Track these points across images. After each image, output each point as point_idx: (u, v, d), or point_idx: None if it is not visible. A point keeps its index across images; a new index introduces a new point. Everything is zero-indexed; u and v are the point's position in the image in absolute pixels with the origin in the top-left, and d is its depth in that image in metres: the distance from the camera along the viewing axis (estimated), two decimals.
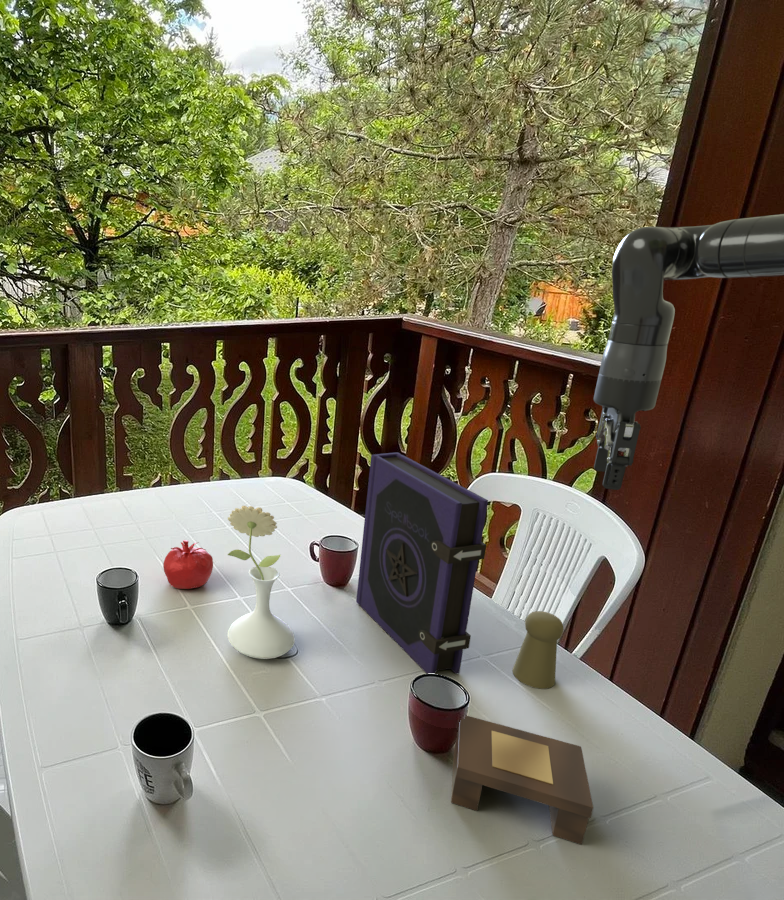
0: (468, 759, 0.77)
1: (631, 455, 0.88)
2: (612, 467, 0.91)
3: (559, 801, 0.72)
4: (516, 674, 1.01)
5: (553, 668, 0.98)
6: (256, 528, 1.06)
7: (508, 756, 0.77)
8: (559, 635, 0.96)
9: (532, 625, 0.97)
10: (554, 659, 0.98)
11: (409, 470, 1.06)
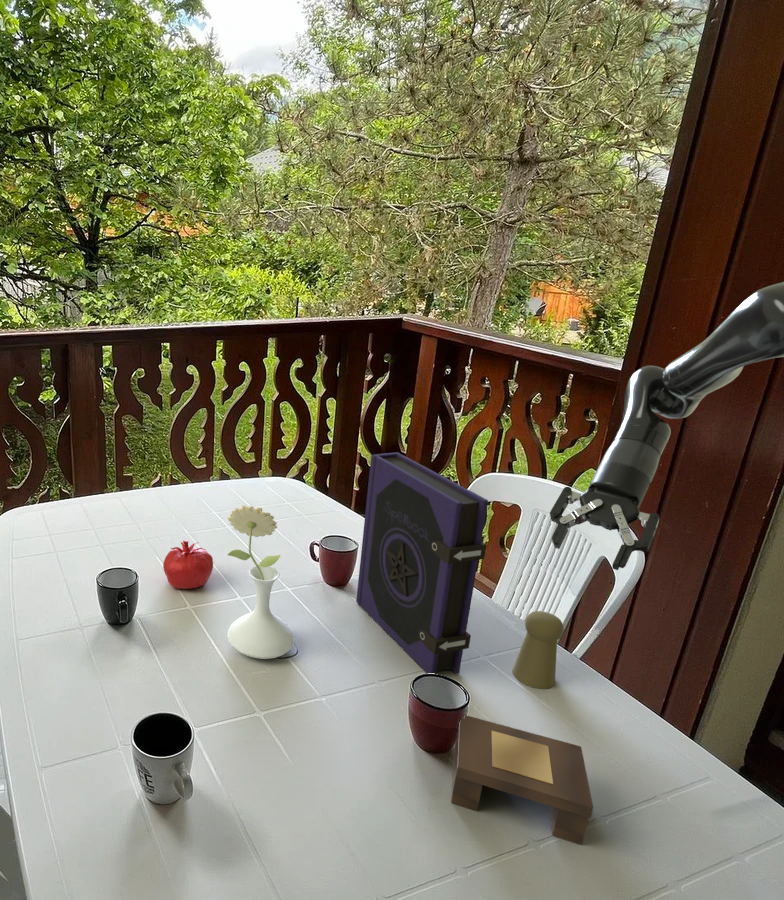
0: (468, 759, 0.77)
1: None
2: None
3: (559, 801, 0.72)
4: (516, 674, 1.01)
5: (553, 668, 0.98)
6: (256, 528, 1.06)
7: (508, 756, 0.77)
8: (559, 635, 0.96)
9: (533, 625, 0.97)
10: (554, 659, 0.98)
11: (409, 470, 1.06)
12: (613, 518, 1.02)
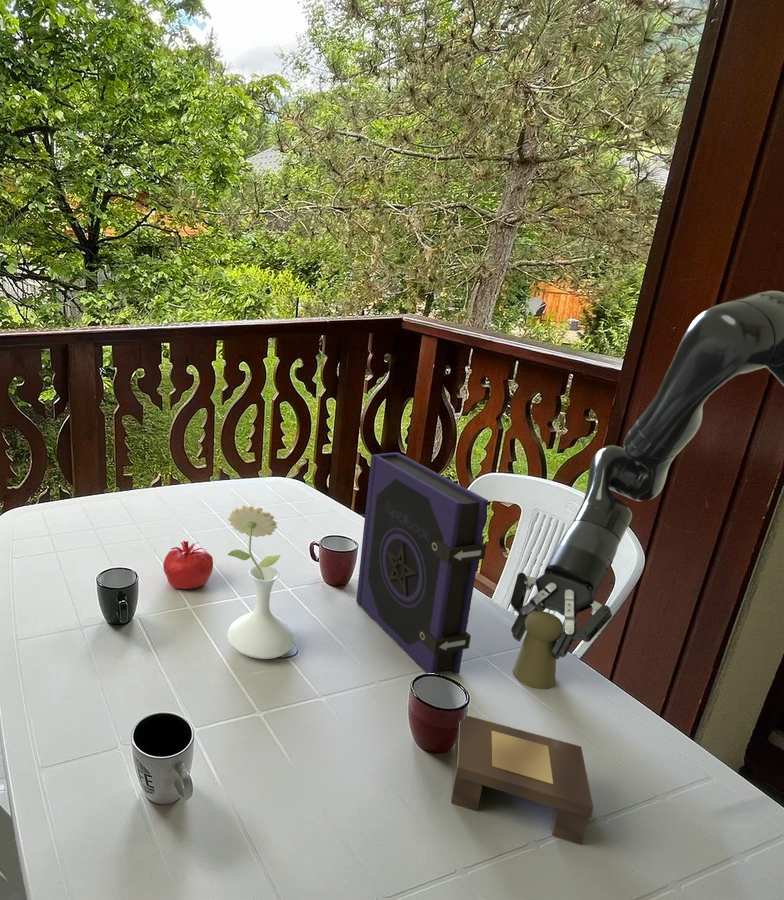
0: (468, 759, 0.77)
1: (512, 597, 1.03)
2: None
3: (559, 801, 0.72)
4: (516, 674, 1.01)
5: (553, 668, 0.98)
6: (256, 528, 1.06)
7: (508, 756, 0.77)
8: (559, 635, 0.96)
9: (532, 625, 0.97)
10: (554, 659, 0.98)
11: (409, 470, 1.06)
12: (564, 603, 0.98)
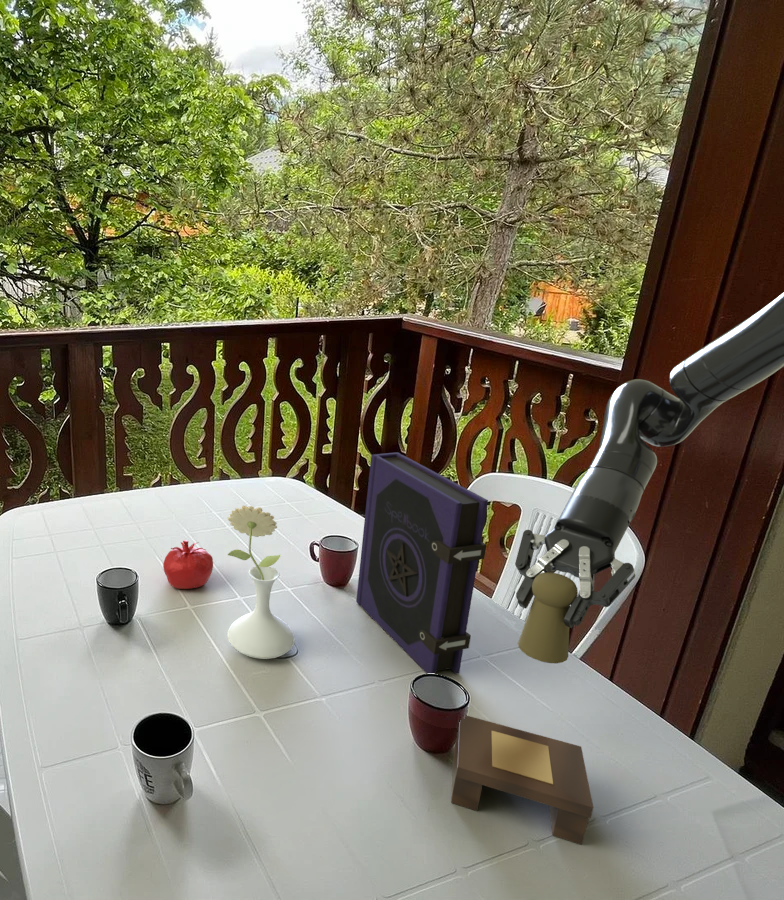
0: (468, 759, 0.77)
1: (517, 557, 0.89)
2: None
3: (559, 801, 0.72)
4: (522, 647, 0.86)
5: (566, 639, 0.83)
6: (256, 528, 1.06)
7: (508, 756, 0.77)
8: (572, 599, 0.81)
9: (541, 587, 0.83)
10: (567, 628, 0.83)
11: (409, 470, 1.06)
12: (578, 562, 0.84)
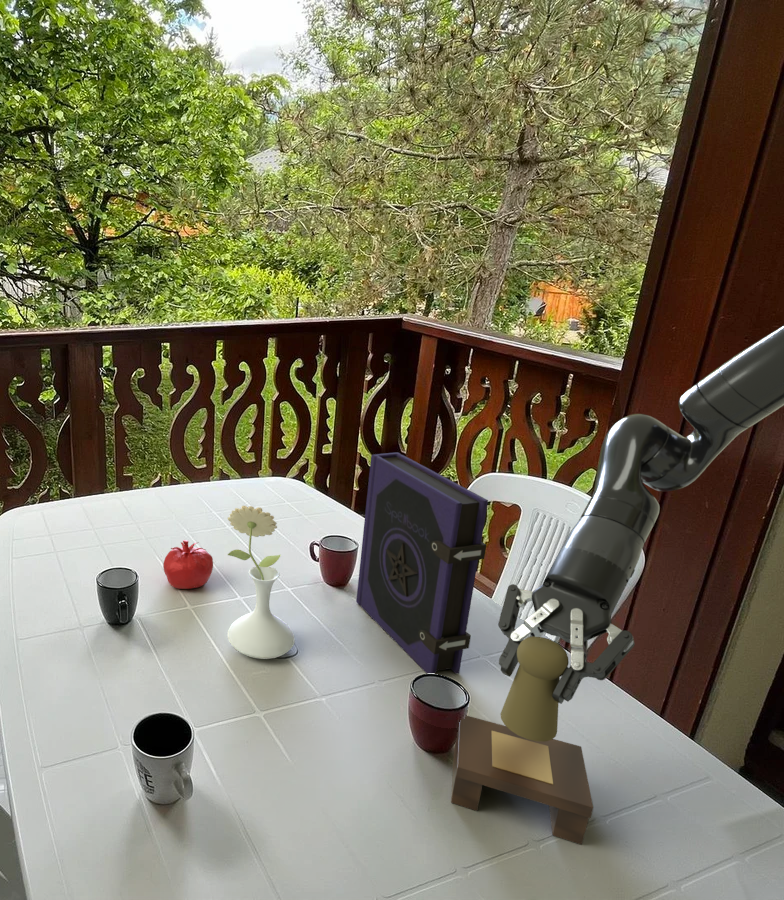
0: (468, 759, 0.77)
1: None
2: None
3: (559, 801, 0.72)
4: (505, 720, 0.76)
5: (555, 714, 0.73)
6: (256, 528, 1.06)
7: (508, 756, 0.77)
8: (563, 670, 0.71)
9: (527, 656, 0.72)
10: (556, 702, 0.73)
11: (409, 470, 1.06)
12: (569, 626, 0.73)
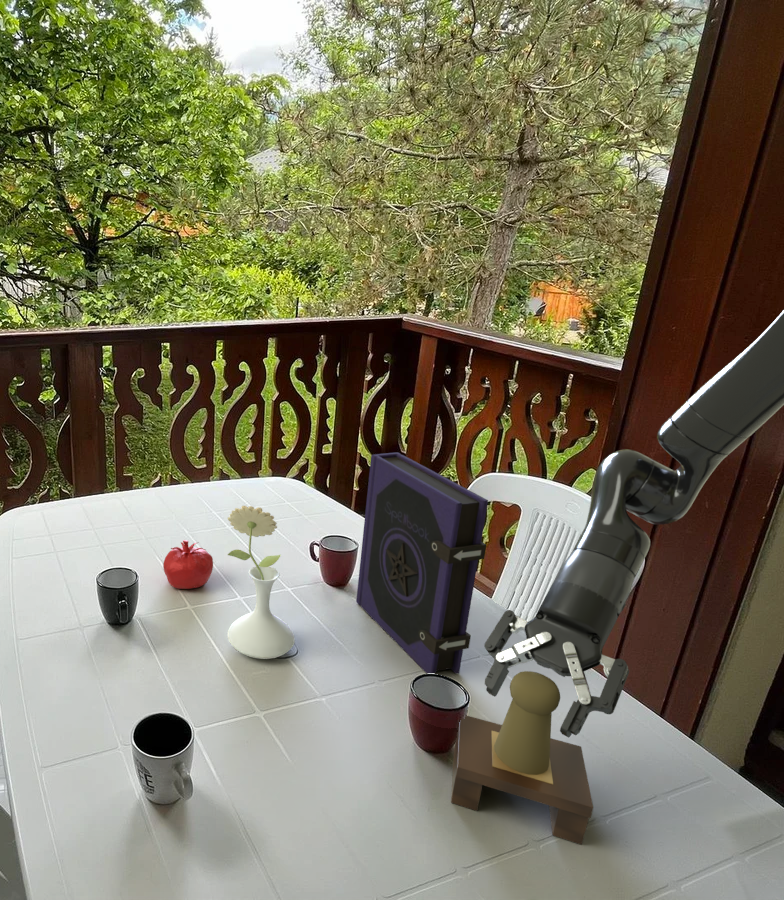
0: (468, 759, 0.77)
1: (489, 637, 0.80)
2: None
3: (559, 801, 0.72)
4: (499, 753, 0.77)
5: (547, 748, 0.75)
6: (256, 528, 1.06)
7: None
8: (554, 706, 0.73)
9: (519, 691, 0.74)
10: (548, 736, 0.74)
11: (409, 470, 1.06)
12: (565, 661, 0.74)
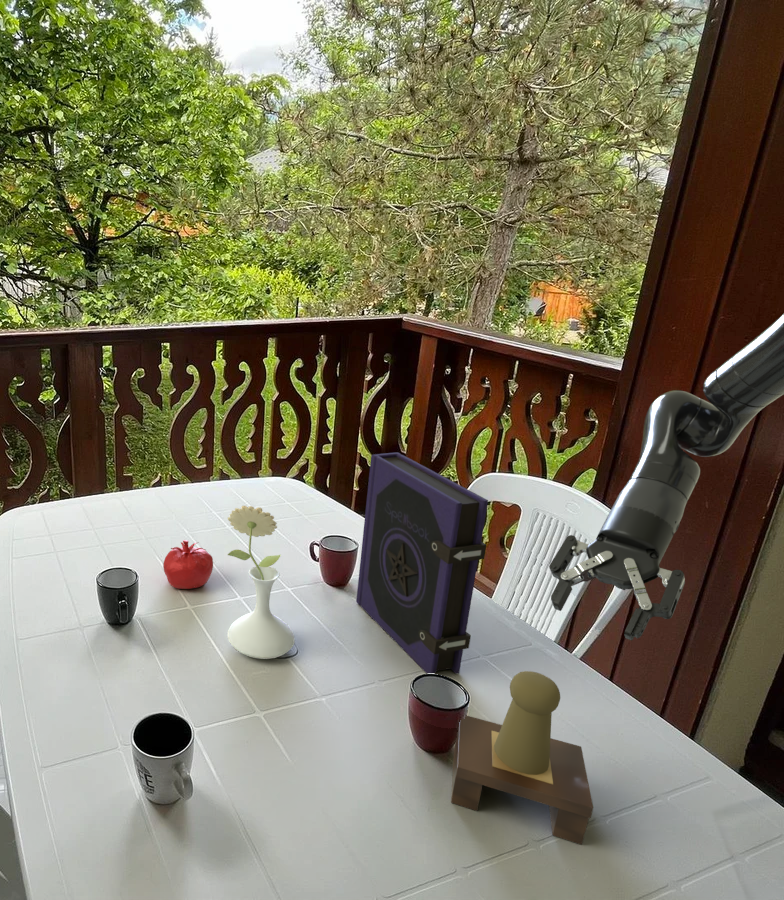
0: (468, 759, 0.77)
1: (553, 560, 0.89)
2: None
3: (559, 801, 0.72)
4: (499, 753, 0.77)
5: (547, 748, 0.75)
6: (256, 528, 1.06)
7: None
8: (554, 706, 0.73)
9: (519, 691, 0.74)
10: (548, 736, 0.74)
11: (409, 470, 1.06)
12: (626, 575, 0.83)
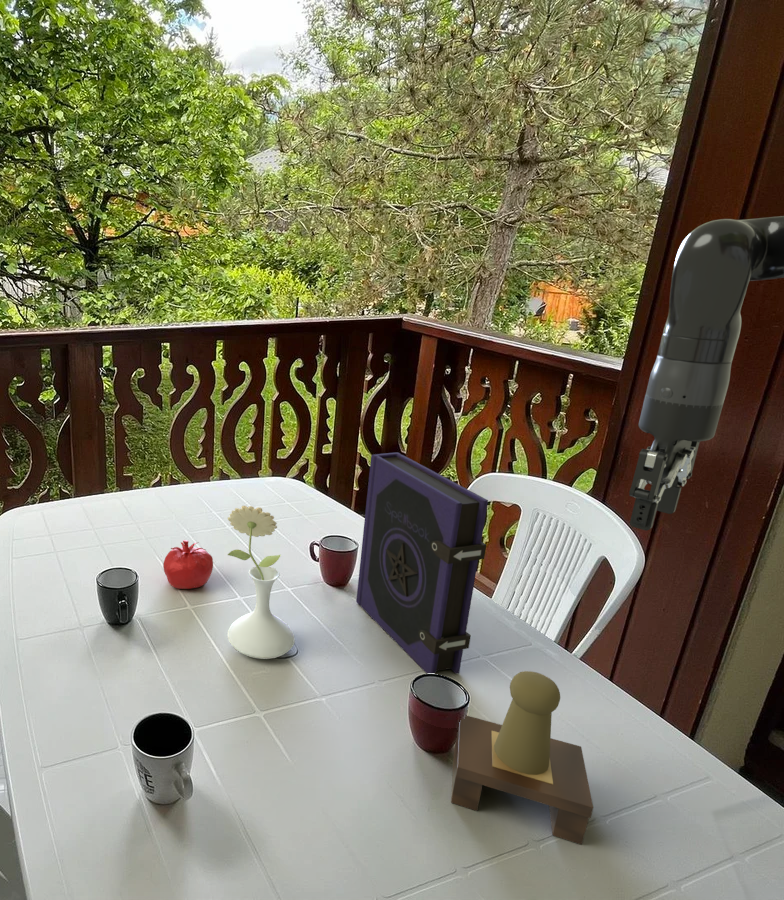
0: (468, 759, 0.77)
1: (652, 489, 0.75)
2: (637, 502, 0.78)
3: (559, 801, 0.72)
4: (499, 753, 0.77)
5: (547, 748, 0.75)
6: (256, 528, 1.06)
7: None
8: (554, 706, 0.73)
9: (519, 691, 0.74)
10: (548, 736, 0.74)
11: (409, 470, 1.06)
12: None
